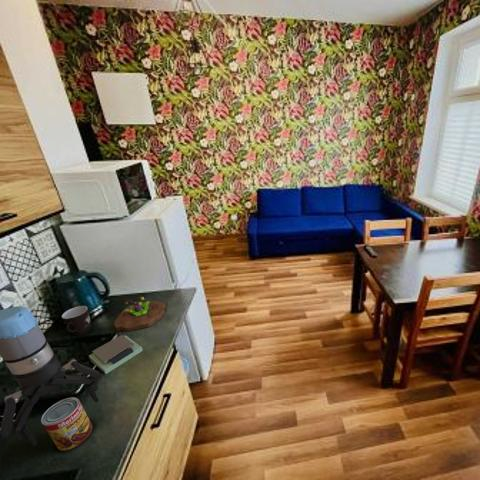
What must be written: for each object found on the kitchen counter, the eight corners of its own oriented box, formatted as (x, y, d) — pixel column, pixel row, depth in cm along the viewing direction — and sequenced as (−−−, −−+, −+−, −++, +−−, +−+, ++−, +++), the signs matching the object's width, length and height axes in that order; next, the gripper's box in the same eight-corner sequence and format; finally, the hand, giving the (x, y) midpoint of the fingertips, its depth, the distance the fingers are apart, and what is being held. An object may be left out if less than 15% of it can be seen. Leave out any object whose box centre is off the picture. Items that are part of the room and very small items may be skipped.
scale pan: (92, 352, 103) (91, 351, 102) (122, 336, 111) (121, 334, 111) (104, 363, 98) (104, 362, 98) (134, 345, 106) (134, 344, 106)
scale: (91, 361, 103) (86, 352, 102) (127, 340, 114) (124, 332, 112) (106, 376, 97) (102, 367, 95) (143, 352, 107) (140, 343, 106)
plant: (155, 329, 120) (149, 308, 116) (108, 334, 117) (99, 313, 113) (171, 302, 138) (166, 284, 134) (130, 306, 135) (124, 287, 131)
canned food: (82, 450, 75) (66, 422, 70) (51, 455, 74) (32, 427, 69) (99, 422, 82) (85, 395, 77) (70, 426, 81) (55, 399, 76)
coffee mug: (83, 322, 124) (75, 305, 120) (99, 324, 123) (92, 306, 119) (57, 341, 113) (48, 322, 110) (75, 343, 112) (66, 324, 108)
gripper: (-42, 414, 55) (7, 473, 63) (99, 337, 74) (122, 390, 83) (-49, 396, 58) (-2, 454, 67) (87, 328, 78) (111, 380, 86)
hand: (67, 419), depth 75 cm, fingers open, 13 cm apart
